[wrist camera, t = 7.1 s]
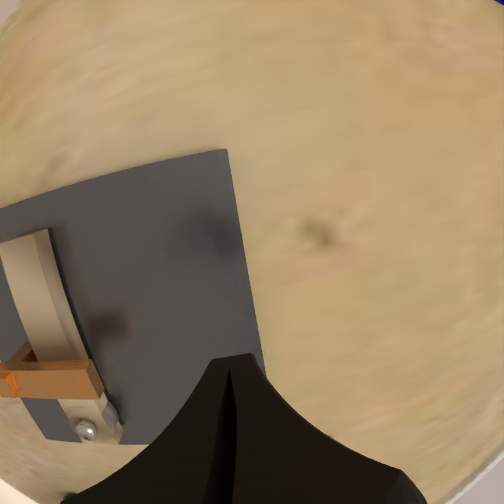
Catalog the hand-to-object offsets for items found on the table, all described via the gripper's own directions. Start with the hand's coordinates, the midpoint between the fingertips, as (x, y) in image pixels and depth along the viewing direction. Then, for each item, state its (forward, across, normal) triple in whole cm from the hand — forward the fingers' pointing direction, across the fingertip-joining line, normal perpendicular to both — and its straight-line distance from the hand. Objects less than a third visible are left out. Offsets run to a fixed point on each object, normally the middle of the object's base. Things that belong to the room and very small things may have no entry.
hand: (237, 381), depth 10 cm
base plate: (+9, +9, +2) cm, 13 cm away
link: (+8, +11, +2) cm, 14 cm away
